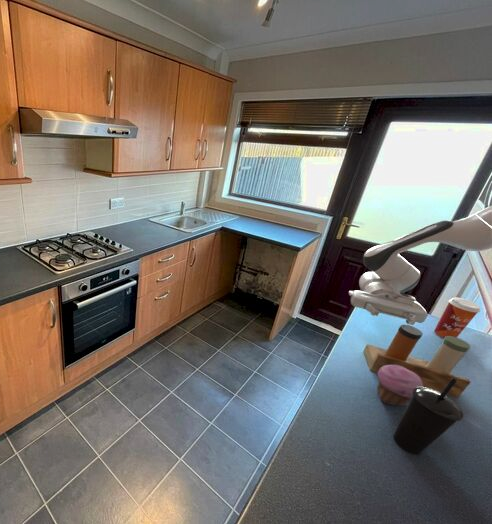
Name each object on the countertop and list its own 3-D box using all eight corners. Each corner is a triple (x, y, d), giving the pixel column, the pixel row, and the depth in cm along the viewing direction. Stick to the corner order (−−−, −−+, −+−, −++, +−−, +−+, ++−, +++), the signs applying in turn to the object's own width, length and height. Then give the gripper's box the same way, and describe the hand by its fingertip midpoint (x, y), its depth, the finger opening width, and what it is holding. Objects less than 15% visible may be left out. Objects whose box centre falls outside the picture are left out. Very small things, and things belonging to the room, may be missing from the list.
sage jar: (443, 368, 81) (464, 339, 76) (451, 380, 77) (474, 350, 72) (422, 362, 83) (442, 333, 78) (429, 374, 79) (450, 344, 74)
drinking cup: (387, 420, 68) (429, 359, 59) (429, 444, 63) (481, 381, 55) (382, 442, 63) (427, 378, 54) (428, 469, 58) (485, 404, 50)
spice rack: (442, 374, 83) (453, 359, 81) (458, 397, 76) (470, 382, 73) (363, 351, 90) (370, 336, 88) (370, 370, 83) (378, 355, 80)
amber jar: (401, 356, 85) (418, 327, 80) (406, 367, 81) (425, 337, 76) (381, 351, 86) (398, 322, 82) (386, 361, 82) (403, 331, 78)
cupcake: (365, 380, 79) (380, 353, 75) (403, 393, 76) (421, 366, 72) (372, 405, 72) (390, 377, 68) (415, 420, 69) (436, 391, 64)
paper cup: (440, 340, 98) (463, 307, 92) (424, 326, 105) (444, 295, 99) (466, 343, 97) (490, 310, 91) (448, 329, 104) (469, 298, 98)
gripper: (350, 282, 103) (358, 300, 92) (420, 298, 96) (438, 319, 85) (344, 297, 106) (351, 316, 95) (411, 313, 99) (428, 336, 87)
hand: (393, 318), depth 90 cm, fingers open, 8 cm apart
